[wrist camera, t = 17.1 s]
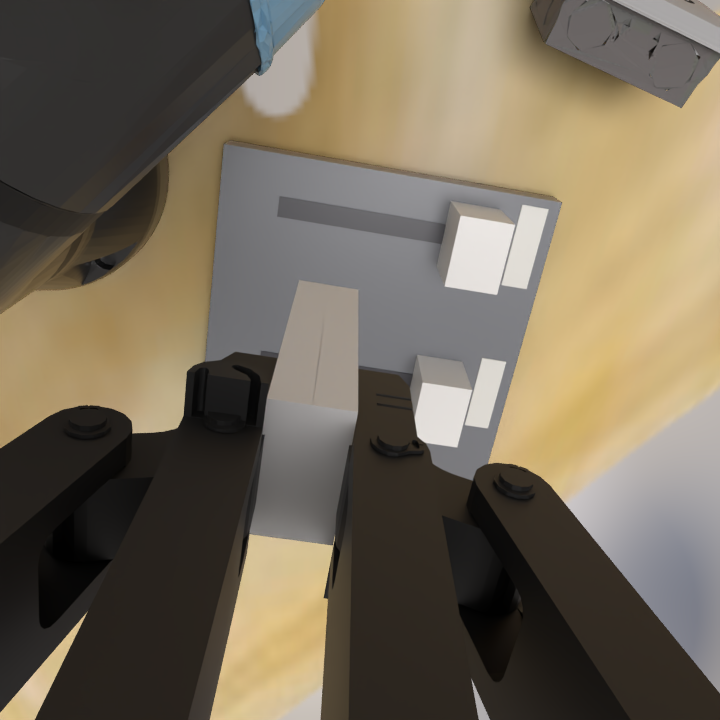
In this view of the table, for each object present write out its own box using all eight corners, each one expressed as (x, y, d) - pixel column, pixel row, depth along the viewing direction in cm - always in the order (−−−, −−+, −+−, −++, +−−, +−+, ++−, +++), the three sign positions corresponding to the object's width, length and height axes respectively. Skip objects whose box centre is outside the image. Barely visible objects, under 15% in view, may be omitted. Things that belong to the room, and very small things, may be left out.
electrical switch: (697, 1, 38) (780, 5, 30) (644, 93, 40) (708, 119, 32) (548, -73, 37) (593, -91, 28) (502, 26, 39) (532, 36, 31)
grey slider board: (197, 498, 51) (177, 553, 45) (229, 140, 41) (209, 152, 35) (459, 534, 52) (471, 591, 47) (553, 196, 42) (583, 217, 36)
